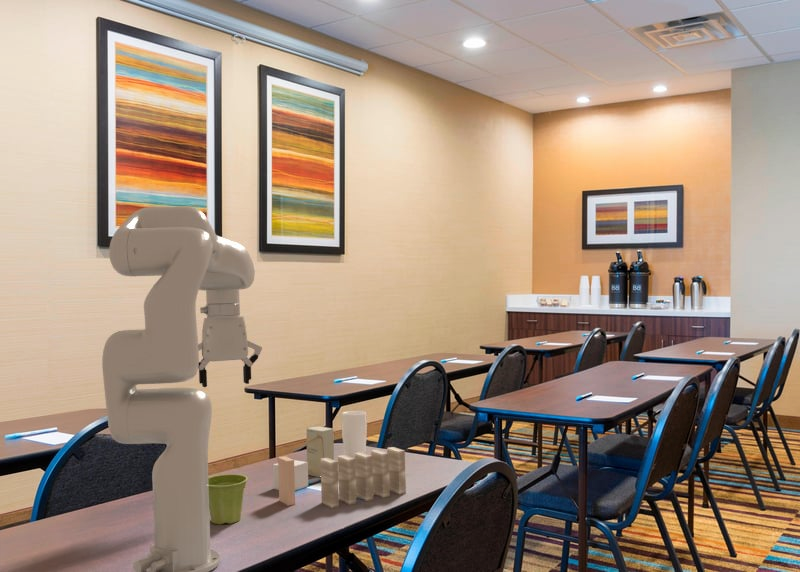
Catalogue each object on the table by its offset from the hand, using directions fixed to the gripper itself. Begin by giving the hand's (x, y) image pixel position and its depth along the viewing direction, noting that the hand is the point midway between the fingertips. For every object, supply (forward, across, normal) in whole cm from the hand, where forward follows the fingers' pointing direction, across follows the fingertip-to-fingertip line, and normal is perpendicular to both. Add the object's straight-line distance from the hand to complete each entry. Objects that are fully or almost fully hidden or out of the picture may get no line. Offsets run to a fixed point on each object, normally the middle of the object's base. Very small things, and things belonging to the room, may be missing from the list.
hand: (225, 384), depth 177 cm
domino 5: (+27, +33, -13) cm, 44 cm away
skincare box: (+27, +26, +12) cm, 39 cm away
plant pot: (+27, -3, -16) cm, 32 cm away
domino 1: (+27, +12, -9) cm, 31 cm away
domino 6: (+27, +37, -12) cm, 47 cm away
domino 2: (+27, +20, -16) cm, 37 cm away
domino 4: (+27, +28, -14) cm, 41 cm away
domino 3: (+27, +24, -15) cm, 39 cm away
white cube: (+27, +16, +3) cm, 31 cm away
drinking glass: (+27, +36, +14) cm, 47 cm away
